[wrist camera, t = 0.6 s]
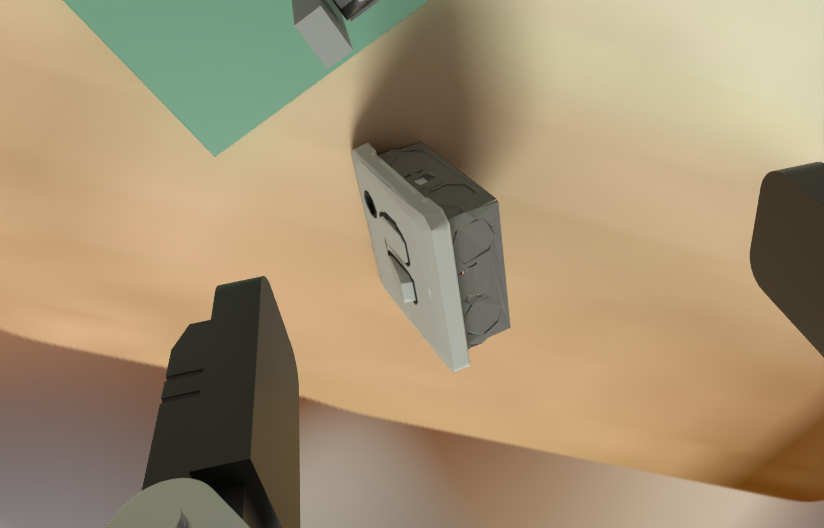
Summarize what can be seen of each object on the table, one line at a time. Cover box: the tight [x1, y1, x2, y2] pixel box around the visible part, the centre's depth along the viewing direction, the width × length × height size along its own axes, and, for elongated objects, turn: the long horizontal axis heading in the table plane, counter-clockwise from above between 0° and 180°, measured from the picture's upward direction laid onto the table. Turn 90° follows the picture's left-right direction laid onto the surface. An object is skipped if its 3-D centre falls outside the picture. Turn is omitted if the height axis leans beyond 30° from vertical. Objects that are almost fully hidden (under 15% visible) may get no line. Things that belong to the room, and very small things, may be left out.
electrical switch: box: [352, 142, 510, 372], centre depth 35 cm, size 9×5×9 cm, turn 9°
